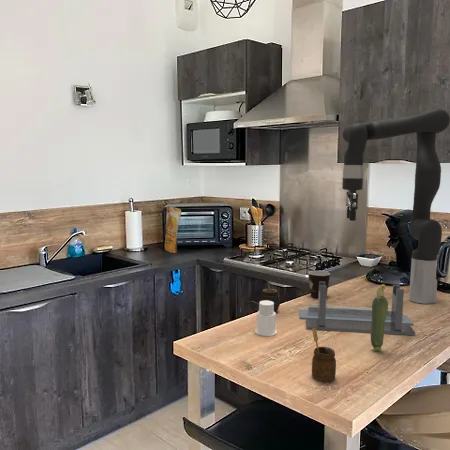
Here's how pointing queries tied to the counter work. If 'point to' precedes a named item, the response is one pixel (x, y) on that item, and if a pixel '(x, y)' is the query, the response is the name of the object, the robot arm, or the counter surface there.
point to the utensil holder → (323, 362)
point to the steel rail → (346, 311)
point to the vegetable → (378, 318)
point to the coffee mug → (317, 282)
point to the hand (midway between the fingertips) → (351, 219)
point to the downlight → (266, 319)
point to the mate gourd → (271, 297)
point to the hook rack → (360, 326)
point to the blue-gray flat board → (350, 318)
